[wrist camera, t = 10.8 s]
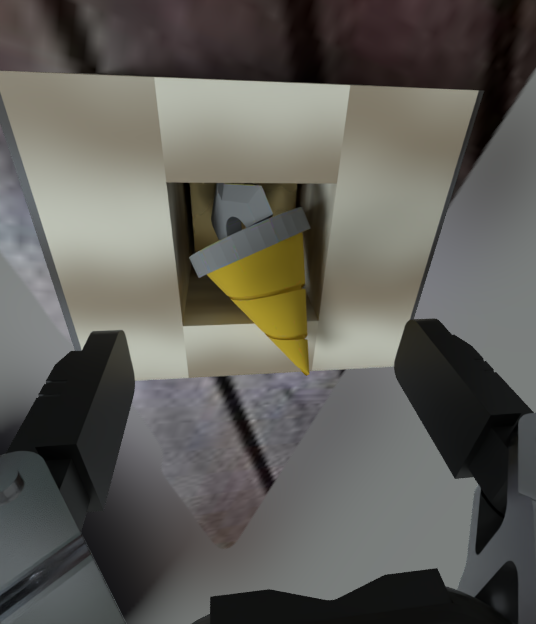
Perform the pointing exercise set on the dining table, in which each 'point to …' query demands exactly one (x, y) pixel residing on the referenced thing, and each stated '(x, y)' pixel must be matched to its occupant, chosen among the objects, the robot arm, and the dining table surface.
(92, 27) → the dining table surface
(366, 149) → the socket block
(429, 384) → the robot arm
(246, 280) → the drill bit
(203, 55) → the dining table surface
